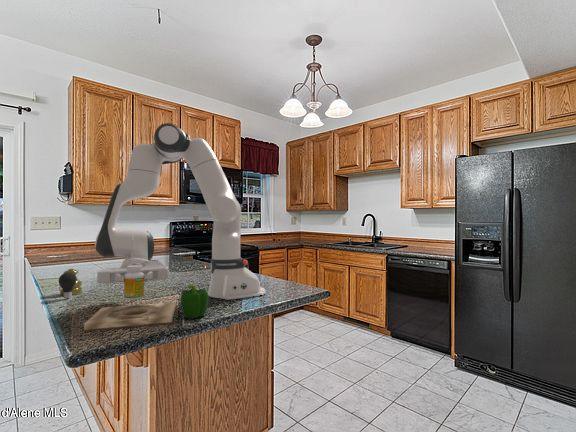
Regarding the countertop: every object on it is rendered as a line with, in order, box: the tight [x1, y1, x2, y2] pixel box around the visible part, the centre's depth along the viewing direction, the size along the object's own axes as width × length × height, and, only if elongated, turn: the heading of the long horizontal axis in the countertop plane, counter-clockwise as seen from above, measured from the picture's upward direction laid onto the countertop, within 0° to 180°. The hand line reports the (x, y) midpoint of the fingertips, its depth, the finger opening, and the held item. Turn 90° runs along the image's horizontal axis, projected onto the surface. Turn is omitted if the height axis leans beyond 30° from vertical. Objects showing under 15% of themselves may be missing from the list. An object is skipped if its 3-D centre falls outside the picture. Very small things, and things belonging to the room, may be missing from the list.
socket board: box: [83, 301, 177, 332], centre depth 95 cm, size 22×16×2 cm
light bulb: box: [58, 272, 78, 300], centre depth 119 cm, size 6×6×10 cm
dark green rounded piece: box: [59, 268, 83, 297], centre depth 127 cm, size 7×7×10 cm
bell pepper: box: [180, 284, 210, 320], centre depth 97 cm, size 8×8×10 cm
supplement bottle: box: [123, 265, 145, 301], centre depth 95 cm, size 5×5×10 cm
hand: (134, 278), depth 94 cm, fingers closed on supplement bottle, 5 cm apart
